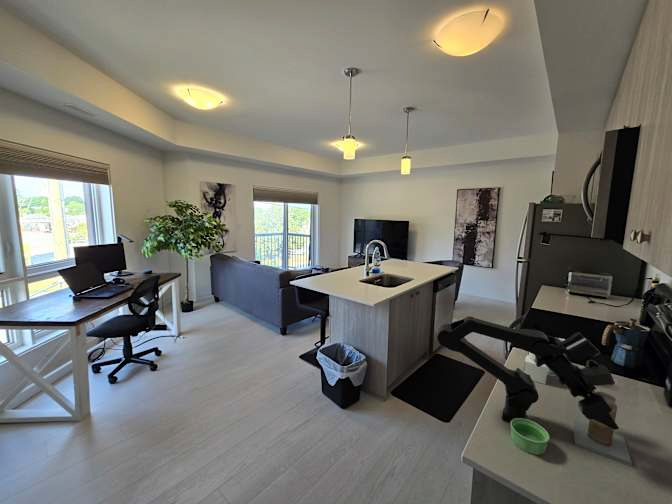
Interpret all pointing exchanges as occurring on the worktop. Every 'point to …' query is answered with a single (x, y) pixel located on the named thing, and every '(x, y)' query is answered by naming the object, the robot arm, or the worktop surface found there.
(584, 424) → the slate trivet
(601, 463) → the worktop surface
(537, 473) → the worktop surface
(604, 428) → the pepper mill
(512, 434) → the ramekin
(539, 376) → the medicine bottle
